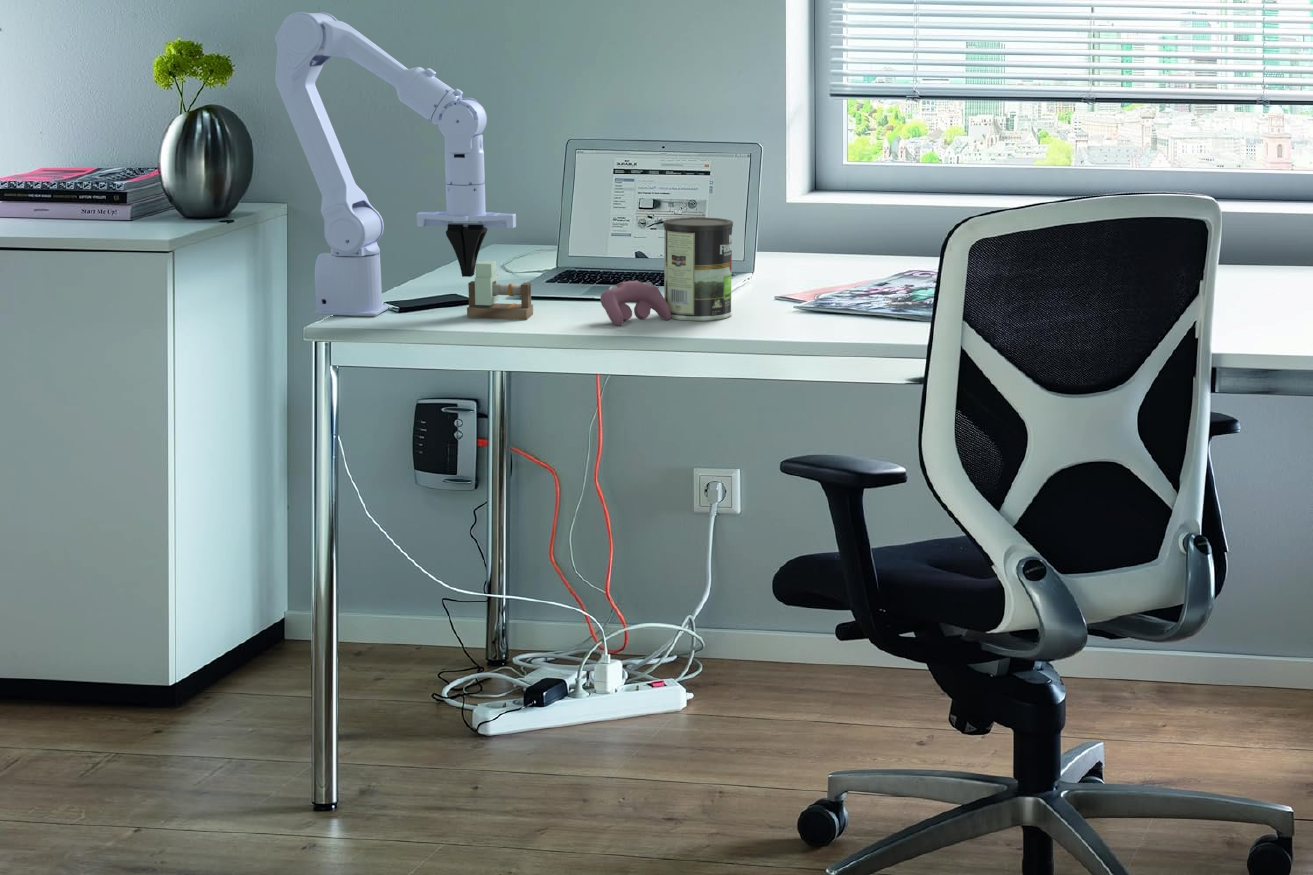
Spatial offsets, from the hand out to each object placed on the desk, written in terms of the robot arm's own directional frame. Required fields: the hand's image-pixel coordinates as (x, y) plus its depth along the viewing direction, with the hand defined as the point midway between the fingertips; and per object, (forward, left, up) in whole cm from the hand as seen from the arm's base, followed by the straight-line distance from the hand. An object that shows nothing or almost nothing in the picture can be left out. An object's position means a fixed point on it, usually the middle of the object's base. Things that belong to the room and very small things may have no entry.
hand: (468, 275), depth 231 cm
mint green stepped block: (+3, 0, -4) cm, 5 cm away
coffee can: (+34, +6, -6) cm, 35 cm away
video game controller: (+25, 0, -6) cm, 26 cm away
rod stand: (+5, 0, -6) cm, 8 cm away
